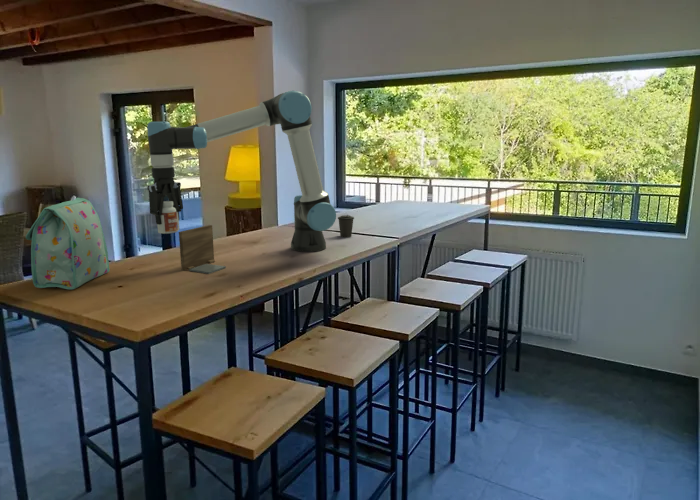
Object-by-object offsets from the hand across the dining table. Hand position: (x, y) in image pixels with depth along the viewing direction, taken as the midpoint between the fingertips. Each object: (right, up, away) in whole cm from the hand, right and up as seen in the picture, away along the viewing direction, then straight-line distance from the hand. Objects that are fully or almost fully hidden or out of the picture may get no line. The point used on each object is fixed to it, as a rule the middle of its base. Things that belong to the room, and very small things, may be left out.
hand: (169, 231), depth 183 cm
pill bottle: (0, -1, 0) cm, 1 cm away
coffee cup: (+64, 0, +62) cm, 89 cm away
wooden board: (+9, -13, +6) cm, 16 cm away
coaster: (+14, -14, +1) cm, 20 cm away
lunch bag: (-27, -17, -14) cm, 35 cm away
